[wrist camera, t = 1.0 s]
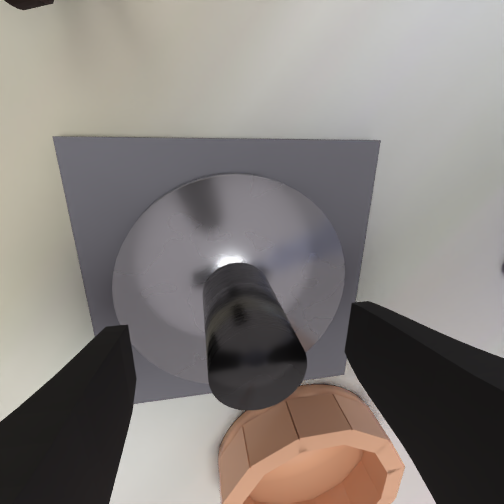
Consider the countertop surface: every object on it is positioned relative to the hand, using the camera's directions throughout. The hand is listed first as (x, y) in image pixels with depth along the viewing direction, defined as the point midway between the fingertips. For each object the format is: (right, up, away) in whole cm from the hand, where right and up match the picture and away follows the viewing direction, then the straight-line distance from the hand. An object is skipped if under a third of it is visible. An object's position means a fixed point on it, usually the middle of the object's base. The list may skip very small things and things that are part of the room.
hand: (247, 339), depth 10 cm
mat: (-1, +2, +4) cm, 4 cm away
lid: (-1, +1, +4) cm, 4 cm away
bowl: (+3, -9, +9) cm, 13 cm away
